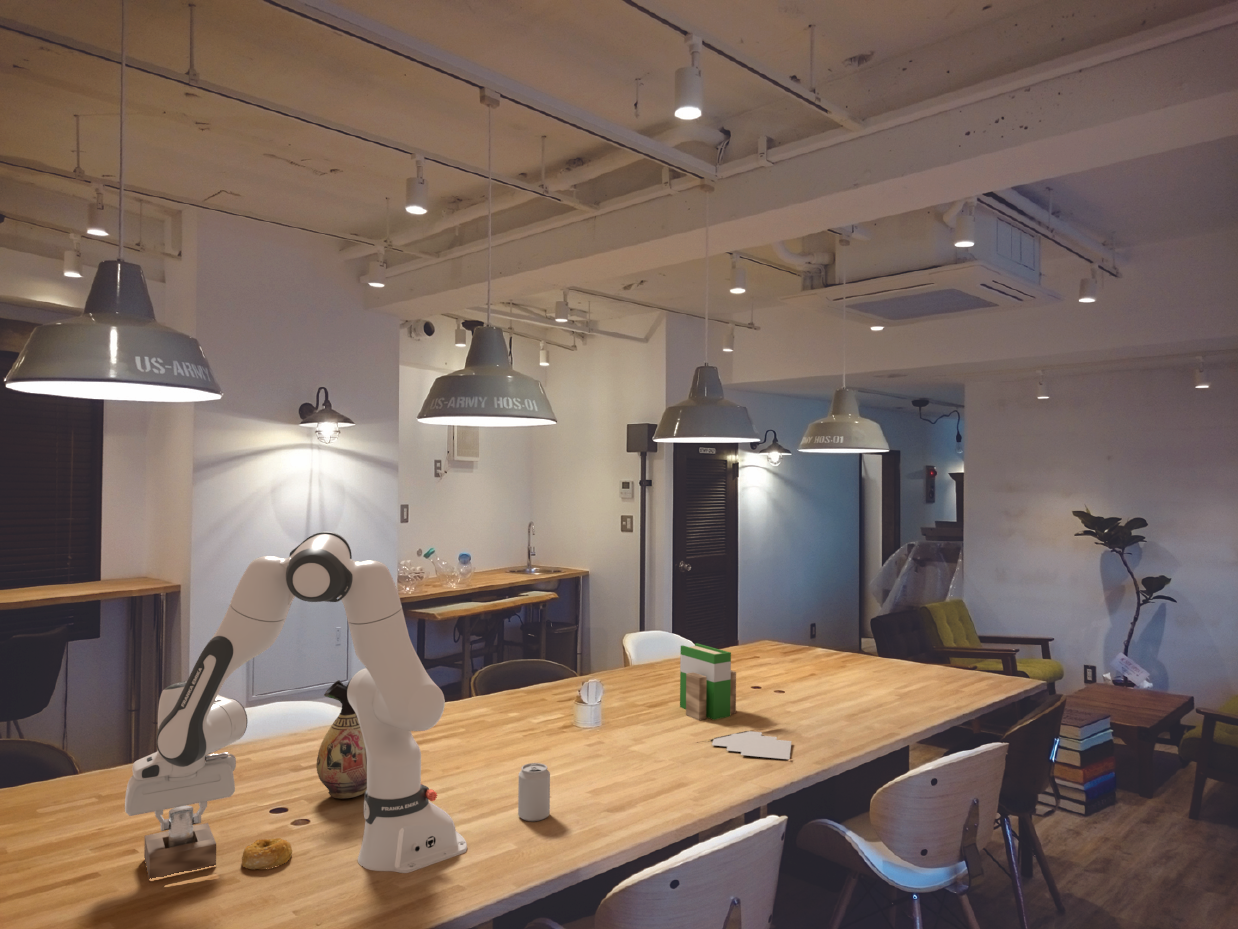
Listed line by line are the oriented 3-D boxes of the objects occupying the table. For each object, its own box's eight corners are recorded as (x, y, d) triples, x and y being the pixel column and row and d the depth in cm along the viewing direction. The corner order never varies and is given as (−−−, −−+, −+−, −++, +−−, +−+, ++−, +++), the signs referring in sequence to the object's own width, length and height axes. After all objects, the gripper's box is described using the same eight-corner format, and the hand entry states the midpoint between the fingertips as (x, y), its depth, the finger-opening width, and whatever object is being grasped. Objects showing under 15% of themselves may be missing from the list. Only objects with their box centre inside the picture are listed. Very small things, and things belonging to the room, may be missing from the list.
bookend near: (692, 713, 286) (693, 672, 286) (706, 719, 280) (706, 676, 280) (685, 715, 284) (686, 673, 284) (699, 720, 278) (699, 678, 278)
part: (191, 851, 178) (191, 804, 178) (194, 860, 174) (194, 811, 174) (167, 856, 176) (167, 808, 176) (169, 865, 172) (170, 816, 172)
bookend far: (722, 708, 293) (722, 667, 293) (735, 713, 287) (736, 671, 287) (715, 709, 291) (716, 668, 291) (729, 714, 285) (729, 673, 285)
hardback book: (679, 714, 294) (680, 645, 294) (696, 711, 298) (696, 643, 298) (713, 727, 279) (714, 655, 279) (730, 724, 283) (730, 652, 284)
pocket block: (207, 846, 183) (207, 823, 183) (216, 868, 173) (216, 843, 173) (144, 859, 176) (144, 835, 176) (149, 883, 166) (149, 858, 166)
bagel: (299, 850, 182) (300, 828, 182) (282, 874, 171) (282, 851, 171) (252, 850, 182) (253, 828, 182) (232, 875, 171) (232, 851, 171)
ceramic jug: (313, 807, 204) (315, 683, 204) (318, 784, 219) (320, 668, 219) (386, 800, 209) (387, 679, 209) (386, 778, 224) (387, 665, 224)
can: (520, 825, 195) (521, 773, 195) (515, 812, 203) (516, 762, 203) (552, 822, 197) (553, 770, 197) (546, 809, 205) (547, 760, 205)
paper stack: (707, 754, 246) (707, 751, 246) (718, 728, 271) (718, 726, 271) (789, 761, 241) (789, 759, 241) (792, 735, 265) (792, 732, 265)
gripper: (233, 746, 183) (232, 810, 183) (124, 764, 172) (123, 832, 172) (238, 755, 178) (237, 820, 178) (126, 773, 167) (125, 843, 167)
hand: (180, 826), depth 175 cm, fingers closed on part, 4 cm apart
